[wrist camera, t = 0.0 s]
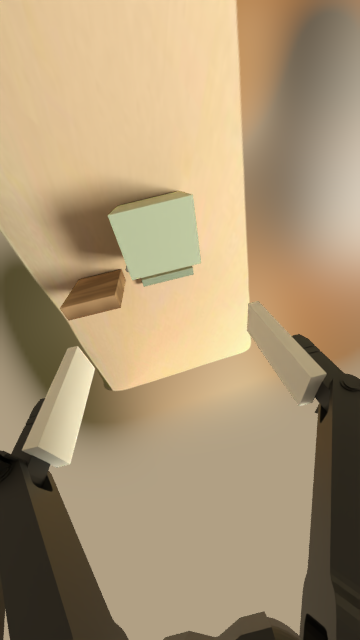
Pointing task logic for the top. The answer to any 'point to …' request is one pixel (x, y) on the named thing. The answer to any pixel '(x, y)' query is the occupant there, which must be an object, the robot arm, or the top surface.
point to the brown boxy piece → (95, 295)
